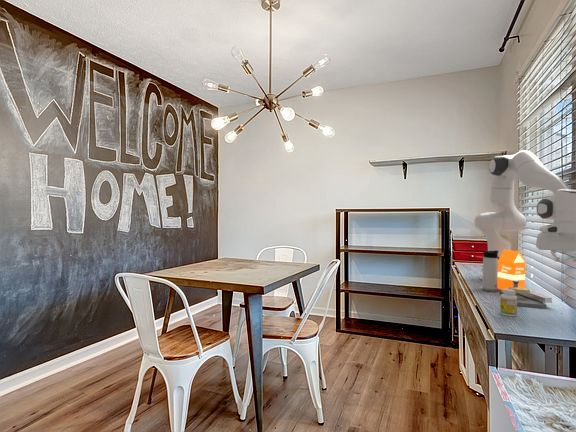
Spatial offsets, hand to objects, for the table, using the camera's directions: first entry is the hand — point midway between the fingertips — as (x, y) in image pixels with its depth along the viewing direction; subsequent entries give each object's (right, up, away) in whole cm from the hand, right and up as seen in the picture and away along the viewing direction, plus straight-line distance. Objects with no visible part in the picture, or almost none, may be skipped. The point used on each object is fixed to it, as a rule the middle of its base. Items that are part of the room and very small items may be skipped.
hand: (566, 261), depth 139 cm
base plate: (-10, -19, +12) cm, 25 cm away
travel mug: (-13, -19, +30) cm, 38 cm away
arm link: (-7, -17, +11) cm, 22 cm away
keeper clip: (-12, -17, +11) cm, 24 cm away
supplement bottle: (-29, -19, -9) cm, 36 cm away
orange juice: (-2, -19, +31) cm, 36 cm away
